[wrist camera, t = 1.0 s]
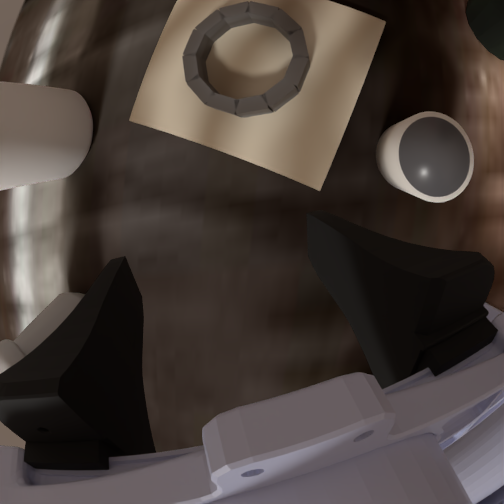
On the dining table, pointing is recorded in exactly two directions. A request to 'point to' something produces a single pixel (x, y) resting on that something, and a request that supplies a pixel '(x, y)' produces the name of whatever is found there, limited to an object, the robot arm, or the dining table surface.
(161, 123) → the stand
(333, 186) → the dining table surface
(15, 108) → the alcohol
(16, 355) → the salt shaker
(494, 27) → the potion bottle
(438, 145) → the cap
